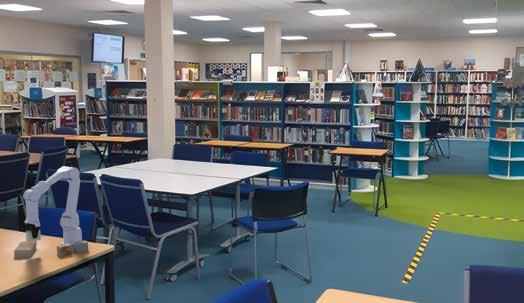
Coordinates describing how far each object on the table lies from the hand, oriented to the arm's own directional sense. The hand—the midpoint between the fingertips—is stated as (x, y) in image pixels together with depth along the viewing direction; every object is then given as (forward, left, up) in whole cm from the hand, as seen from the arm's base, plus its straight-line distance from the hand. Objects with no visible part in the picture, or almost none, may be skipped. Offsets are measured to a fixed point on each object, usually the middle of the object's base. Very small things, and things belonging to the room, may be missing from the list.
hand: (33, 237), depth 271 cm
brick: (+2, -6, -10) cm, 12 cm away
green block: (0, 0, -2) cm, 2 cm away
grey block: (-21, +11, -10) cm, 26 cm away
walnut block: (-12, +10, -10) cm, 18 cm away
